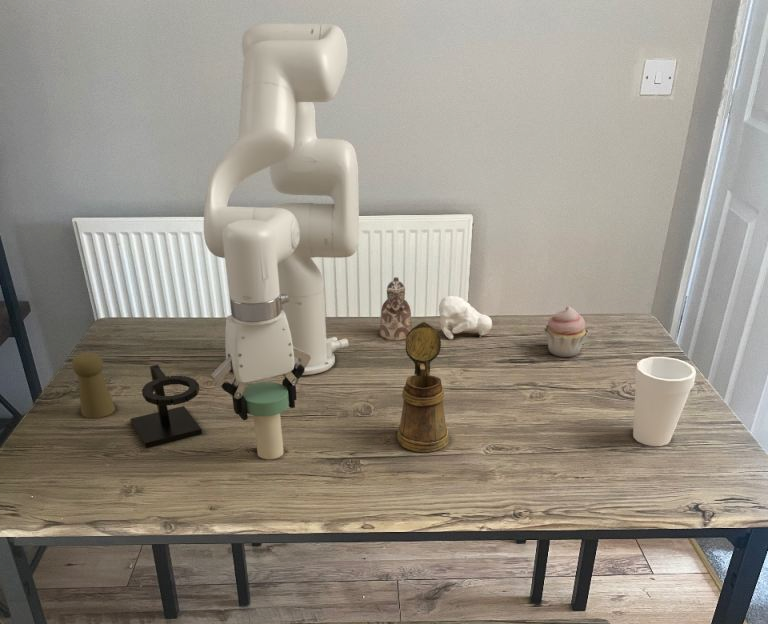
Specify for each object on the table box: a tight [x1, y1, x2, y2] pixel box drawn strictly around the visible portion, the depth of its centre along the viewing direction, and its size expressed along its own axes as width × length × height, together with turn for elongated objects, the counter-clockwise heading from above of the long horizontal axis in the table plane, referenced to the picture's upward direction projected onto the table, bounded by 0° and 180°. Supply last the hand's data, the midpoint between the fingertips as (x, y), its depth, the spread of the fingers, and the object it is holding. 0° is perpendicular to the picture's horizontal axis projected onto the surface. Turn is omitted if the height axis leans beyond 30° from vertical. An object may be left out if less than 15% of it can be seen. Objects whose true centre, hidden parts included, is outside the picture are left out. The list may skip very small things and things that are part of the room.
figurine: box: [378, 276, 413, 341], centre depth 174 cm, size 7×7×12 cm
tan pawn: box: [71, 351, 116, 419], centre depth 146 cm, size 6×6×11 cm
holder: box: [129, 364, 203, 449], centre depth 137 cm, size 10×18×12 cm, turn 29°
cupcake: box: [542, 305, 590, 358], centre depth 167 cm, size 9×9×10 cm
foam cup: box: [632, 356, 697, 447], centre depth 136 cm, size 10×9×13 cm
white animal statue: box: [438, 295, 493, 340], centre depth 175 cm, size 6×8×12 cm
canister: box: [243, 381, 289, 460], centre depth 133 cm, size 8×8×11 cm
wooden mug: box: [397, 321, 450, 453], centre depth 136 cm, size 9×14×18 cm, turn 179°
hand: (266, 410), depth 131 cm, fingers closed on canister, 7 cm apart
